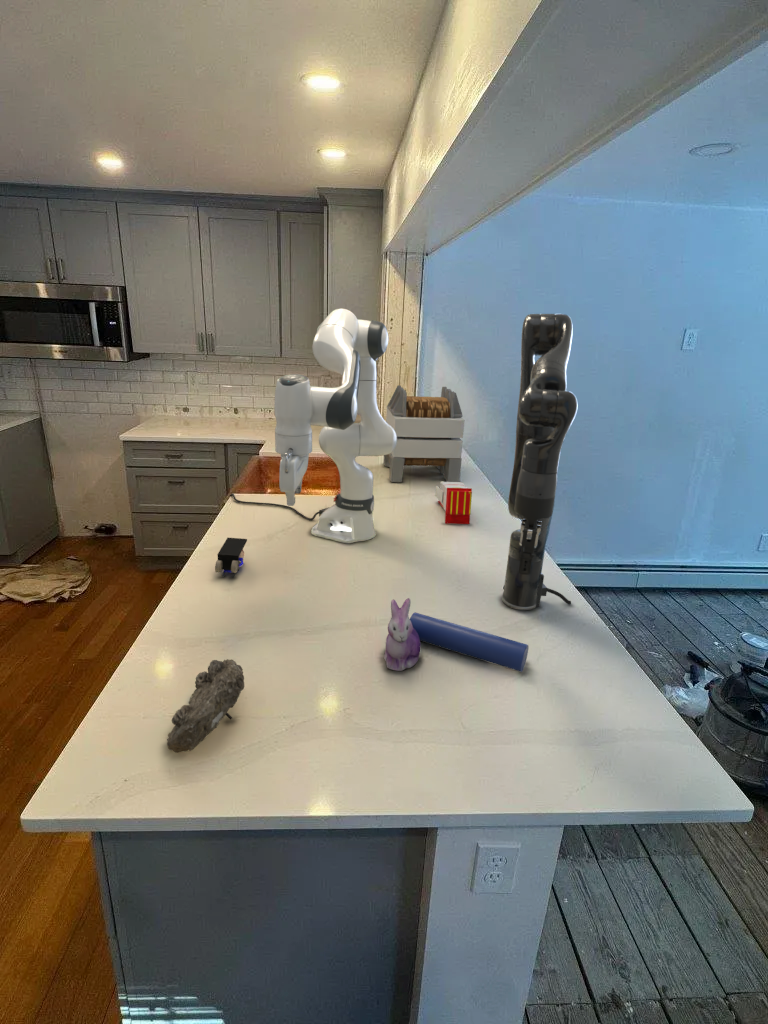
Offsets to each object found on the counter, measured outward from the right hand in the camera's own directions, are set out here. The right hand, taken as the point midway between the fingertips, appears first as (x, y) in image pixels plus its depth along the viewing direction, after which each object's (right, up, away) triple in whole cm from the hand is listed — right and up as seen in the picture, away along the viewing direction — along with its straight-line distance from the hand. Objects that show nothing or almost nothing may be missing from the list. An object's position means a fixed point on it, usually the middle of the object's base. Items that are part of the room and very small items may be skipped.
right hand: (525, 565), depth 118 cm
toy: (-3, +11, +106) cm, 106 cm away
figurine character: (-74, -6, +49) cm, 90 cm away
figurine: (-26, -23, +10) cm, 35 cm away
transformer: (-12, +30, +157) cm, 160 cm away
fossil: (-62, -28, -10) cm, 69 cm away
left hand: (-52, +14, +23) cm, 59 cm away
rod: (-11, -22, +12) cm, 27 cm away
